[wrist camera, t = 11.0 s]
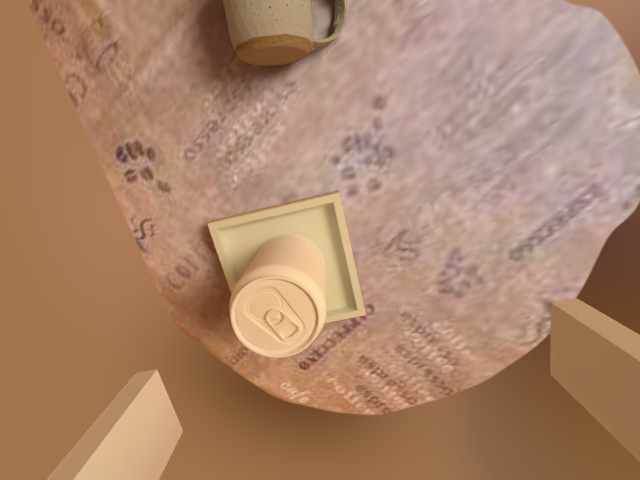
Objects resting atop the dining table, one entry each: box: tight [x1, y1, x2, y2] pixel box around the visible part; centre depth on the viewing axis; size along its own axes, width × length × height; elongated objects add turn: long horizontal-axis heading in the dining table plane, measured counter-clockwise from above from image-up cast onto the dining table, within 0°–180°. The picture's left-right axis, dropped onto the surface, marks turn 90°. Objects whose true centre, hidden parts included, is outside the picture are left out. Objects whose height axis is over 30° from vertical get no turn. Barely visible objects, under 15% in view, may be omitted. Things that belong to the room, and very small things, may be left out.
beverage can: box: [229, 235, 326, 358], centre depth 30 cm, size 8×8×12 cm
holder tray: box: [208, 191, 366, 323], centre depth 35 cm, size 15×15×2 cm
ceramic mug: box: [223, 0, 347, 66], centre depth 26 cm, size 11×8×8 cm
